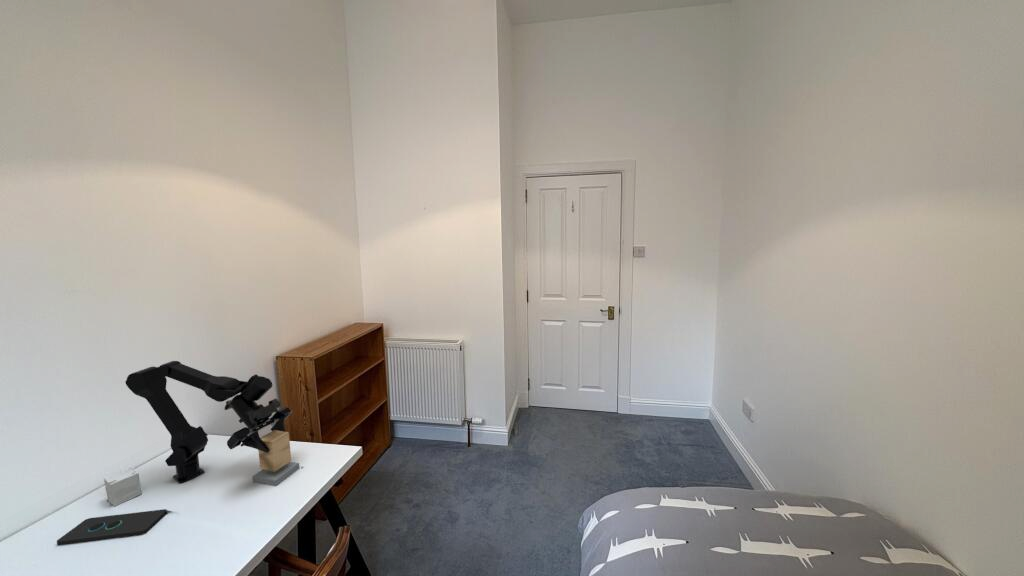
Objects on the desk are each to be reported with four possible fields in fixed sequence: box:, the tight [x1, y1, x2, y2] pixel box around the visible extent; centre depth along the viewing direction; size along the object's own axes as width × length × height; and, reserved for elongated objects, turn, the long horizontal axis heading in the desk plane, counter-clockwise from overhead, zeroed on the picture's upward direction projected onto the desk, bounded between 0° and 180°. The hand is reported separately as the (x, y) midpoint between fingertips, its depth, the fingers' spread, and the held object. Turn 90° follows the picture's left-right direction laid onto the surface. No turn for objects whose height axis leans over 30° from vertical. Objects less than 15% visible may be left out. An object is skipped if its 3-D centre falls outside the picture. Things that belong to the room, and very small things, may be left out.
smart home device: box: [56, 508, 169, 546], centre depth 95 cm, size 8×2×20 cm
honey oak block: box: [257, 430, 292, 472], centre depth 114 cm, size 6×6×10 cm
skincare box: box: [103, 467, 143, 507], centre depth 107 cm, size 6×6×7 cm
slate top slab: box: [251, 461, 300, 487], centre depth 115 cm, size 9×9×2 cm
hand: (277, 446), depth 113 cm, fingers closed on honey oak block, 6 cm apart
